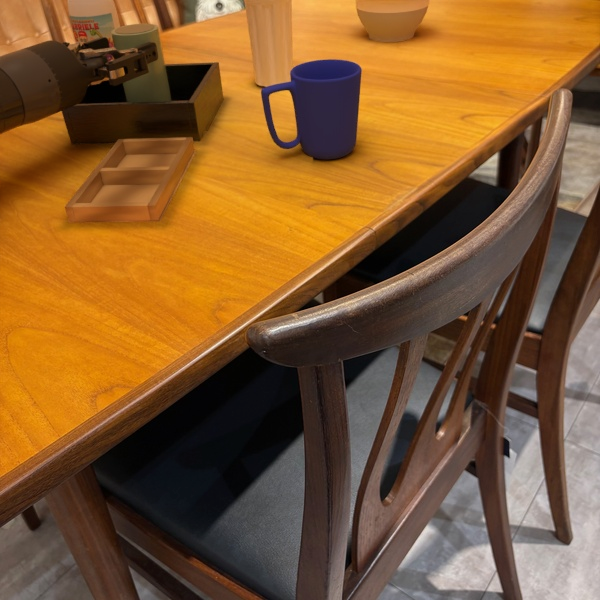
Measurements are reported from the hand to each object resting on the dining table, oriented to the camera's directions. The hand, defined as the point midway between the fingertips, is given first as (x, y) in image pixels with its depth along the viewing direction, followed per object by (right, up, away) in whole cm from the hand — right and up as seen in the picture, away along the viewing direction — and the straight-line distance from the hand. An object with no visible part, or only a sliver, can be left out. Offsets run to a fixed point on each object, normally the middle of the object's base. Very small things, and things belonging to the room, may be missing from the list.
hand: (130, 47), depth 81 cm
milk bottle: (-11, +5, +26) cm, 29 cm away
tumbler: (+1, -7, +7) cm, 10 cm away
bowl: (+40, +18, +38) cm, 58 cm away
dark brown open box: (+1, -8, +7) cm, 11 cm away
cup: (+18, +2, +19) cm, 26 cm away
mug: (+24, -16, -5) cm, 29 cm away
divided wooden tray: (+4, -20, -10) cm, 23 cm away
